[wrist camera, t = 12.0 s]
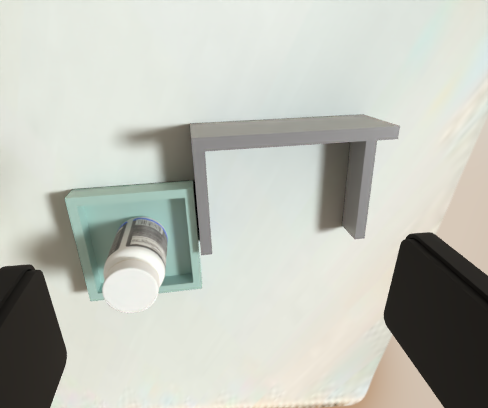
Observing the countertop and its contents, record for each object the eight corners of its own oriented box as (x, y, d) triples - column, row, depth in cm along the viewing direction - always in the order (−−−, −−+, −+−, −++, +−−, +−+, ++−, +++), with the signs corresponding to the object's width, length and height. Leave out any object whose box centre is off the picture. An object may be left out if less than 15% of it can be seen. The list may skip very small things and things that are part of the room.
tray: (72, 189, 30) (64, 198, 28) (192, 180, 32) (193, 188, 30) (95, 287, 35) (90, 301, 33) (201, 275, 36) (202, 288, 34)
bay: (190, 123, 30) (191, 138, 24) (363, 114, 32) (399, 126, 26) (200, 239, 34) (202, 273, 29) (351, 224, 36) (380, 254, 31)
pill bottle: (132, 266, 34) (117, 327, 26) (107, 227, 32) (82, 281, 24) (176, 246, 34) (174, 302, 26) (153, 207, 32) (144, 254, 24)
